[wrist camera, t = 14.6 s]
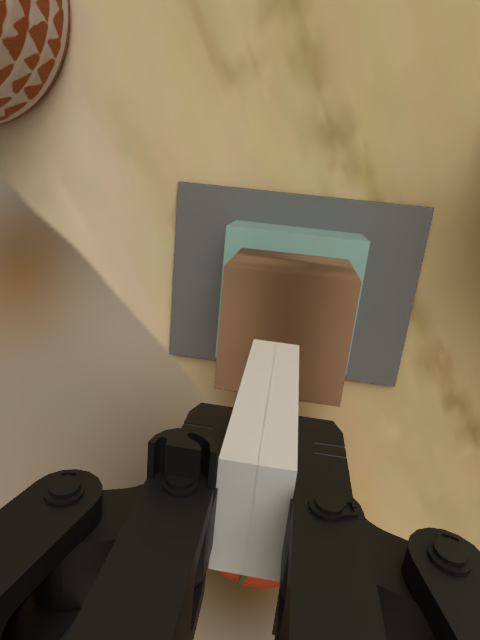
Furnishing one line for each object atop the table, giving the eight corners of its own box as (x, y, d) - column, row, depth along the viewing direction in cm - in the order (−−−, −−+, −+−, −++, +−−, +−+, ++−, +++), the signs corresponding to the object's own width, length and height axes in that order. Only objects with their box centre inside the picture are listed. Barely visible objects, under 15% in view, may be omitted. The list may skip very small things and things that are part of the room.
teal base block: (225, 335, 31) (215, 356, 28) (236, 220, 29) (226, 225, 25) (340, 351, 31) (345, 375, 27) (361, 233, 28) (370, 241, 24)
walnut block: (233, 345, 27) (214, 388, 22) (241, 247, 25) (223, 266, 20) (332, 358, 27) (339, 406, 21) (348, 259, 25) (361, 281, 19)
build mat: (170, 352, 33) (169, 354, 32) (179, 181, 29) (178, 181, 29) (393, 384, 31) (394, 386, 31) (432, 207, 28) (434, 208, 27)
